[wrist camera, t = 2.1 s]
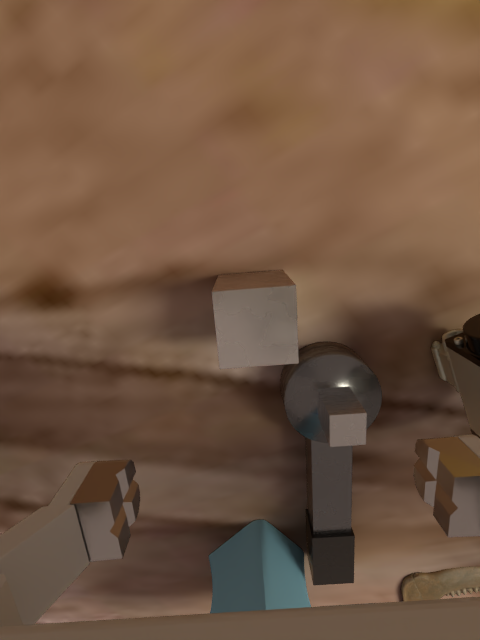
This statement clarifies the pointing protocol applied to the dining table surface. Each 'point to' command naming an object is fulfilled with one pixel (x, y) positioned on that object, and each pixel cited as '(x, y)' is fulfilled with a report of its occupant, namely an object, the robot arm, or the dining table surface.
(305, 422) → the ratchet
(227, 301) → the beige rectangular block
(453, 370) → the pneumatic valve
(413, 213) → the dining table surface
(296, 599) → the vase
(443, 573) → the jawbone
